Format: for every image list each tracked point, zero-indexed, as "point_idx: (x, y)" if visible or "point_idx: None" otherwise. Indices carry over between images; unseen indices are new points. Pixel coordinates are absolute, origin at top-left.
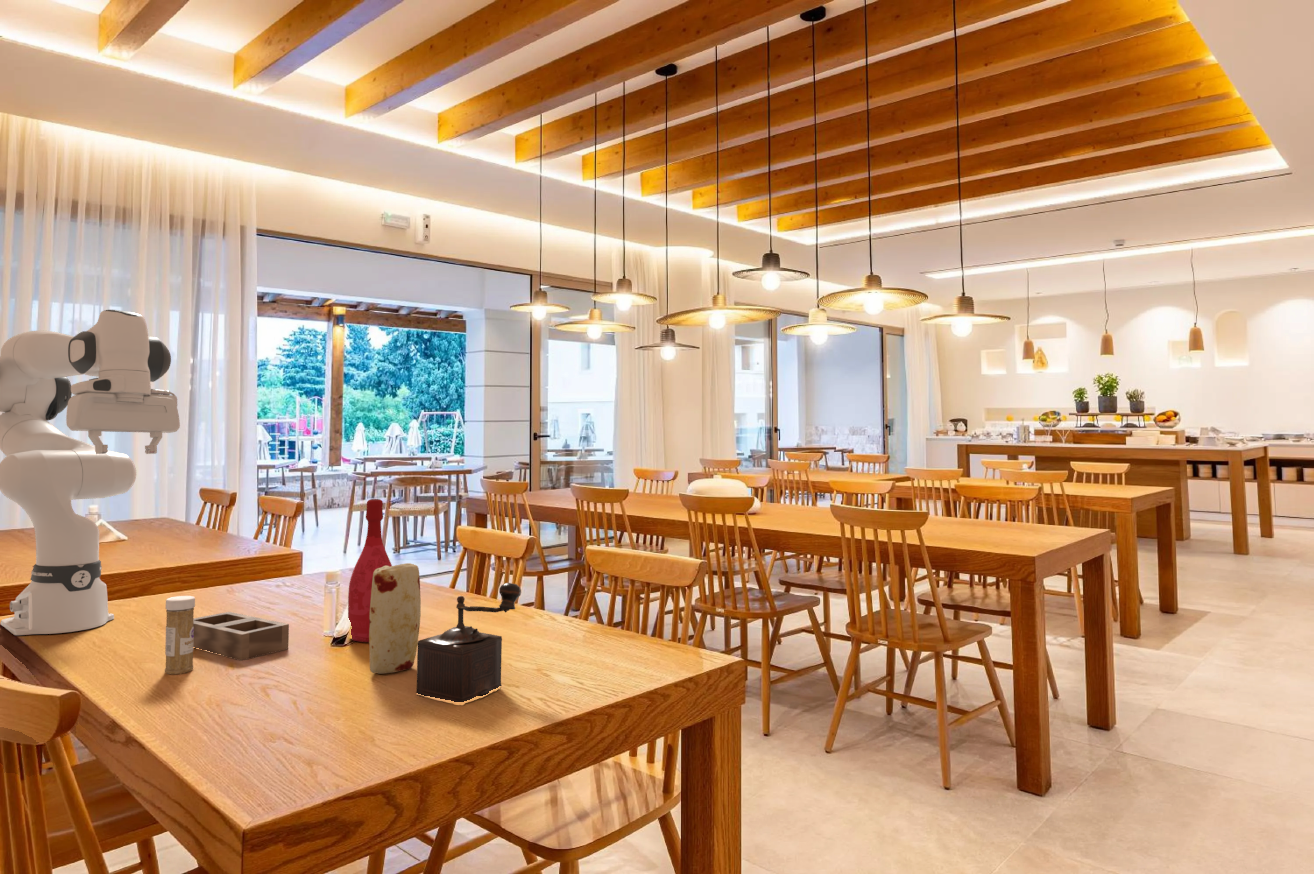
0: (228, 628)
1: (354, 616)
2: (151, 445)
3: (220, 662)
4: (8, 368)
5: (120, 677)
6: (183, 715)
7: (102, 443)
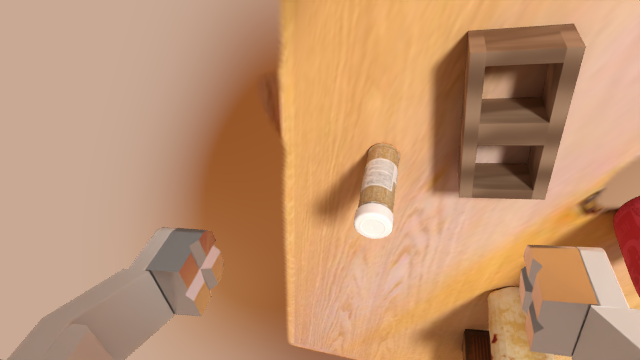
0: (474, 159)
1: (622, 244)
2: (545, 350)
3: (437, 159)
4: None
5: (326, 127)
6: (324, 250)
7: (166, 320)
